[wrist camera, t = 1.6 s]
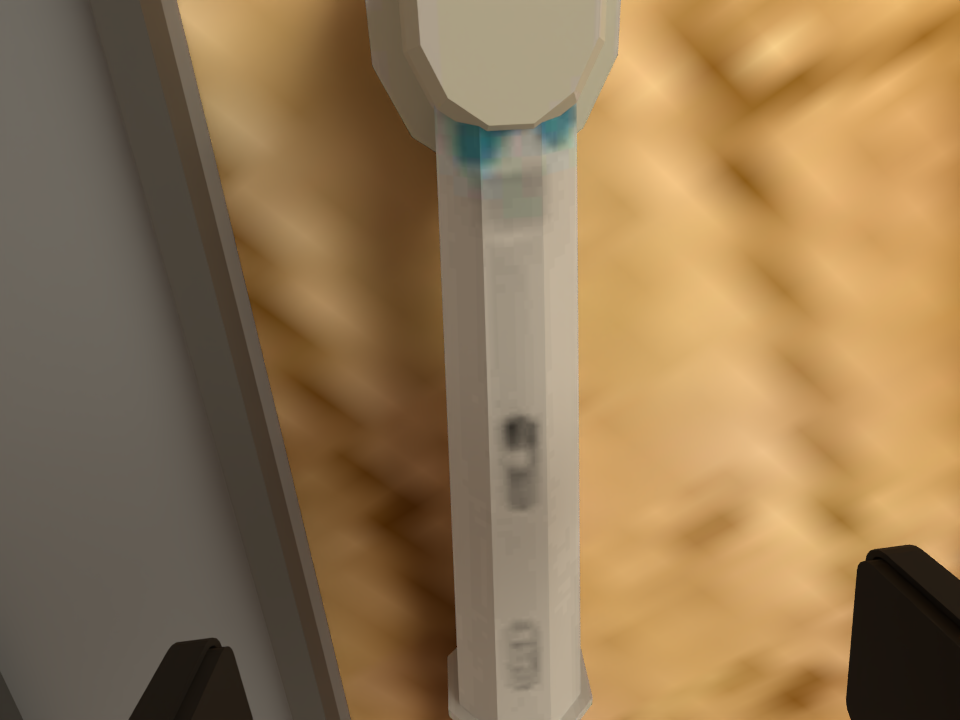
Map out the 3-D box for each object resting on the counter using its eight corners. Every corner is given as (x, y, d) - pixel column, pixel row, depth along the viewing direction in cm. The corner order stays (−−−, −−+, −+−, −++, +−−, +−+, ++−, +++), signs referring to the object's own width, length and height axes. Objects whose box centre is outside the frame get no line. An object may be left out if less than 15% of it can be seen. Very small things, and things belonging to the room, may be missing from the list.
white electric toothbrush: (442, 825, 19) (304, -277, 8) (440, 640, 25) (361, -139, 14) (610, 809, 19) (718, -289, 8) (570, 629, 25) (597, -147, 14)
